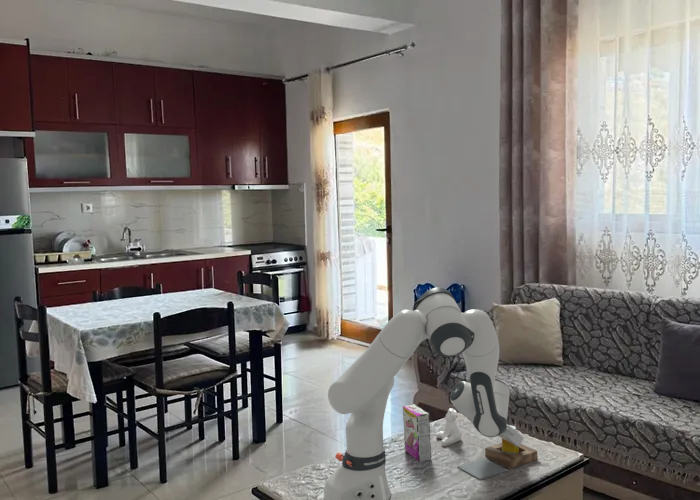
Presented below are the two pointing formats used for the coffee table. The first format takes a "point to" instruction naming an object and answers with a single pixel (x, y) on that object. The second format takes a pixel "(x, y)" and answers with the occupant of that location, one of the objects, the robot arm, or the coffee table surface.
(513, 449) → the supplement bottle
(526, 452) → the pocket block
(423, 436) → the candy bar box
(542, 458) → the coffee table surface
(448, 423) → the sitting furry creature
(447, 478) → the coffee table surface
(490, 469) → the rubber mat
